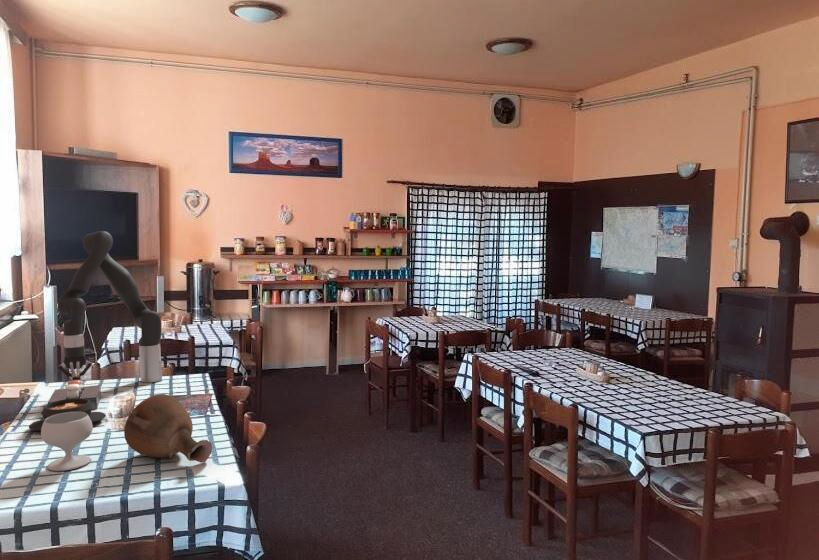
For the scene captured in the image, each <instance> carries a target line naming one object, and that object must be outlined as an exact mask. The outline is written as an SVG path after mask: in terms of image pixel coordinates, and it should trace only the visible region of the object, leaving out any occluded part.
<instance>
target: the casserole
mask: <svg viewBox="0 0 819 560" xmlns="http://www.w3.org/2000/svg"><path fill="white" fill-rule="evenodd" d="M92 408H93V405H92V404H91V402H90V400H88V399H83V398H73V399H64V400H59V401H55V402H52V403H49V404H48V403H47V404H45V405H44V406H43V408H42V411H41V412H40V415H41V416H43V419H39V420H36V421H33V422H32V423H31V424H29V426H28V428H29V430H31V431H41V429H42V425H43V423H44V421H45V419H46V418H48V417H50V416H52V415H56V414H60V413H65V412H85V413H87V414H88V416H89V417H90V419H91V422H92V423H96V422H100V421H102V420H104V419H105V418H106V416H107V415H106V413H105V412H102V411H92V410H91V409H92Z"/></svg>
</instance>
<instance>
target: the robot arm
mask: <svg viewBox="0 0 819 560" xmlns="http://www.w3.org/2000/svg"><path fill="white" fill-rule="evenodd" d="M113 239H114V238H113V236H112V234H110V233H109V231H105V230H100V231H94V232H91V233H87V234H85V235H84V237H83V238H82V246H83V248H84V250H85V252H86V253H87V254H88V256H87V258H86V259H85V260H84V262H83V263H82V264H81V266H80V267H79V268H78V269H77V270H76V273H75V274H74V276H73V279H72V281H71V283H70V284H69V285H70V286H69V287H68V288H67V289H66V291H64V292H63V293H62V295H61V296H60V298H59V299H58V301H57V302H58V303H57V310H58V312H59V313H60V314H62V315H71V317H70V319H69V320H65V321H64V322H63V353H64V355H63V356H64V359H63V361H62V363H61V364H59V365H58V369H59V370H60V371H61V372H62V373H63V374H64V375H65V376H66V377H67V378H68V377H69V378H71V379H72V380H81V377H82V376H84V375H86V373H87V372H88V370H89V369H90V368H91V366H92V365H93V362H92V361H88V359H87V357H86V352H85V351H86V349H85V337H84V332H83V331H84V329H83V323H84V318H85V315H86V314H85V313H86V309H87V305H86V301H85V300H84V299H83V298H81V297H83V296H85V295H87V293H88V292H89V290H90V287H91V285H92V282H93V280H94V277H95V275H96V274H97V272H98V270H99V269H100V270H101V271H102V273H103V275H104V276H105V278H106V279H107V280H108V282H109V284H110V285H111V287H112V289H113V290H114V291H115V293H116V294H117V295H118V297H119V298H120V300H121V301H122V302H123V304H124V305H125V306H126V308H127V309H128V311H129V313H130V315H131V317H132V319H133V321H134V323H135V325H136V326H137V327H138V328H140V329H141V331H140V332H141V336H140V338H139V339H138V351H139V353H138V355H139V368H140V369H139V370H140V371H139V372H140V382H141V383H145V384H146V383H155V382H156V383H157V382H160V381H163V371H162V369H163V368H162V357H161V355H162V353H161V339H162V319H161V316H160V314H159V313H158V312H156V311H154V310H150V309H149V308H148V307H147V305H146V304H145V303H144V301H143V300H142V298H141V294H140V291H139V288H138V285H137V283H136V280H134V279H135V278H133V276H132V274H131V273H130V272H129V270H127V269H126V268H125V267H124V266H123V265H121V264H120V263H118V262H117V261H116V260H115V259H113V258H112V257H111V256H110V253H109V252H110V250H111V249H112V247H113V244H114V242H113V241H114V240H113ZM83 366H85V368H84V369H83V370H81V369H82V368H83ZM66 367H67V368H68V369H69V370H70V371H69V370H68V369H67V368H66Z"/></svg>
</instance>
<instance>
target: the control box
mask: <svg viewBox="0 0 819 560" xmlns="http://www.w3.org/2000/svg"><path fill="white" fill-rule="evenodd" d="M101 397H102V390H101V385H100V384H97V385H89V386H84V388H83V390H81V394H79V398H83V399H88V400H90V402H91V404H92V405H93V408H92V409H91V411H93V410H95V411H96V410H98V407H99V404H100V401H101ZM64 399H67V390H66V389H65V388H59V389H54V390H53V393H52V394H51V396H50V398H49V399H48V401H47V404H49V403H52V402H55V401H59V400H64Z"/></svg>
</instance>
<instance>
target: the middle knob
mask: <svg viewBox="0 0 819 560" xmlns="http://www.w3.org/2000/svg"><path fill="white" fill-rule="evenodd" d="M82 383H83V382H82V380H81V379H80V380H68V381H67V385H69V384H79V385H80V384H82ZM78 392H79V394H81V388H78Z"/></svg>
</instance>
